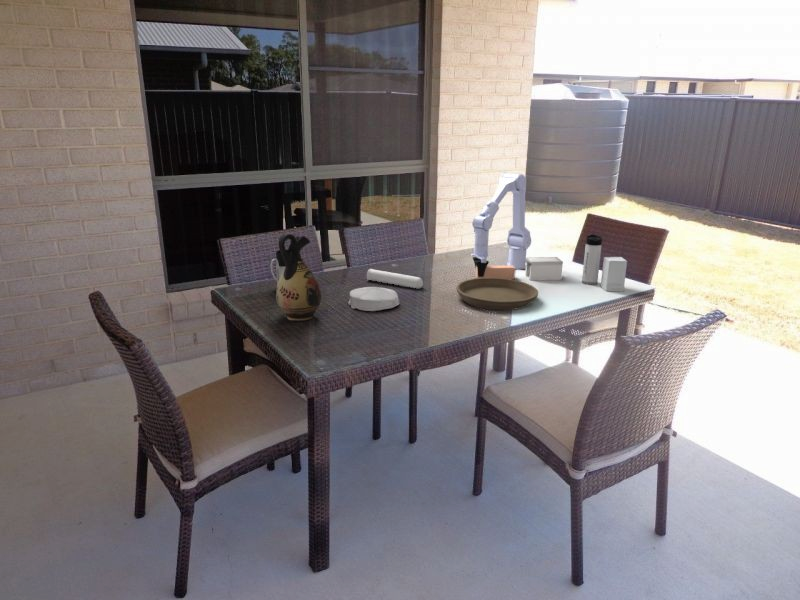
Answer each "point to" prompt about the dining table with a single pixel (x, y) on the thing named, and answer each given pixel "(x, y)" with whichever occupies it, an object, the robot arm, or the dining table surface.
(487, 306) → the plant saucer
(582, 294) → the dining table surface
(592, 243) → the travel mug
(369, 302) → the food container
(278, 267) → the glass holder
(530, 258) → the dispenser
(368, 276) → the tube
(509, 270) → the orange long block
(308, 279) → the ceramic jug
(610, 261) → the supplement box
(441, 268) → the dining table surface
